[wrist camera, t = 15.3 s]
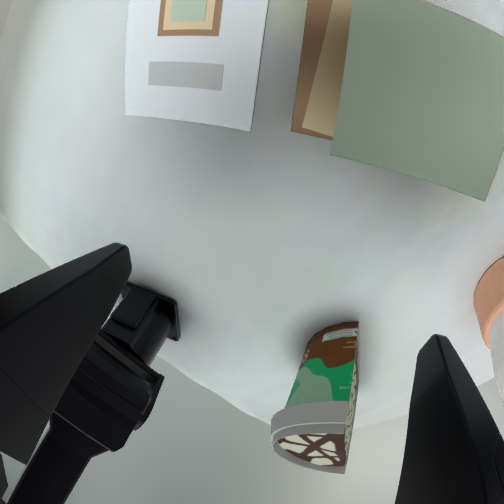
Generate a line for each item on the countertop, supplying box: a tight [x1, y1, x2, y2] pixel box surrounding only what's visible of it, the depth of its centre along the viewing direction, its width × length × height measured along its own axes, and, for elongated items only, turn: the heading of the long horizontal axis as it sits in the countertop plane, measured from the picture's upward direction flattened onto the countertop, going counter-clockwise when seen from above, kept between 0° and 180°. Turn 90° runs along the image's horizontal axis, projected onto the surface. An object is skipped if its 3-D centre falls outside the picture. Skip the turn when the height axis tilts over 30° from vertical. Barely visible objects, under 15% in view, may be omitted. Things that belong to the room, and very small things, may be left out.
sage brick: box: [330, 0, 504, 202], centre depth 7 cm, size 4×4×4 cm
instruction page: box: [125, 0, 269, 131], centre depth 14 cm, size 12×9×1 cm
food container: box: [270, 321, 359, 474], centre depth 23 cm, size 12×6×10 cm, turn 16°
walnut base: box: [291, 0, 333, 140], centre depth 12 cm, size 8×8×2 cm
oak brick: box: [302, 0, 436, 137], centre depth 10 cm, size 6×6×4 cm
